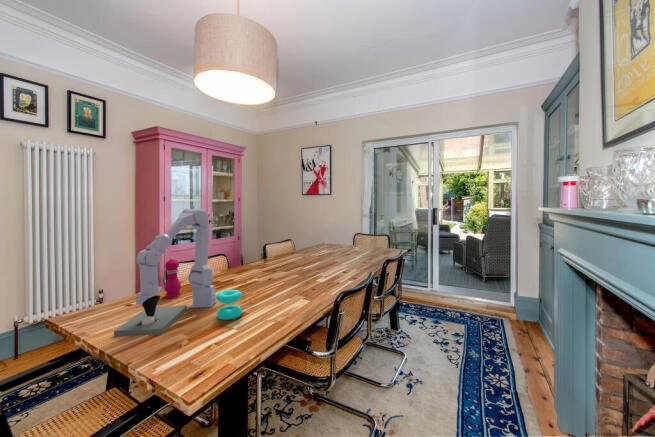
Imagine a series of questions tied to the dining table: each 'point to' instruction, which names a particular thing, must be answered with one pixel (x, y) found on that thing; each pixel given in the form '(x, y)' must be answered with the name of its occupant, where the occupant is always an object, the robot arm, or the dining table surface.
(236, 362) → the dining table surface
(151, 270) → the robot arm
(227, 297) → the donuts
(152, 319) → the ball
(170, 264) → the pepper mill
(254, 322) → the dining table surface
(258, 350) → the dining table surface
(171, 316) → the plate
